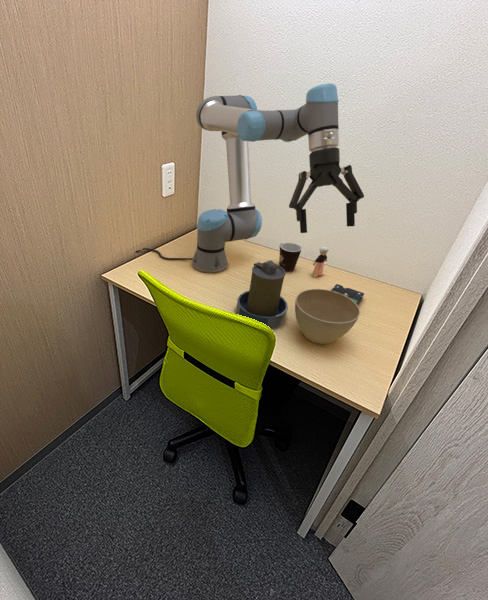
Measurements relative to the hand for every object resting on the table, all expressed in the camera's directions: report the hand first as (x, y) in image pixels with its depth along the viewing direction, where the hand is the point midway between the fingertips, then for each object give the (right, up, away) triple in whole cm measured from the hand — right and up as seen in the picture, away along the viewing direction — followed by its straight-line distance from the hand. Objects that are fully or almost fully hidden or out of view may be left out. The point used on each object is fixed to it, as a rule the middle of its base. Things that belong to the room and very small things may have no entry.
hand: (327, 229), depth 95 cm
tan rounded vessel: (+2, -31, +13) cm, 34 cm away
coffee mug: (+5, -6, +50) cm, 51 cm away
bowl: (-14, -25, +22) cm, 36 cm away
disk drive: (+18, -21, +28) cm, 39 cm away
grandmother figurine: (+16, -10, +44) cm, 48 cm away
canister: (-14, -25, +22) cm, 36 cm away
